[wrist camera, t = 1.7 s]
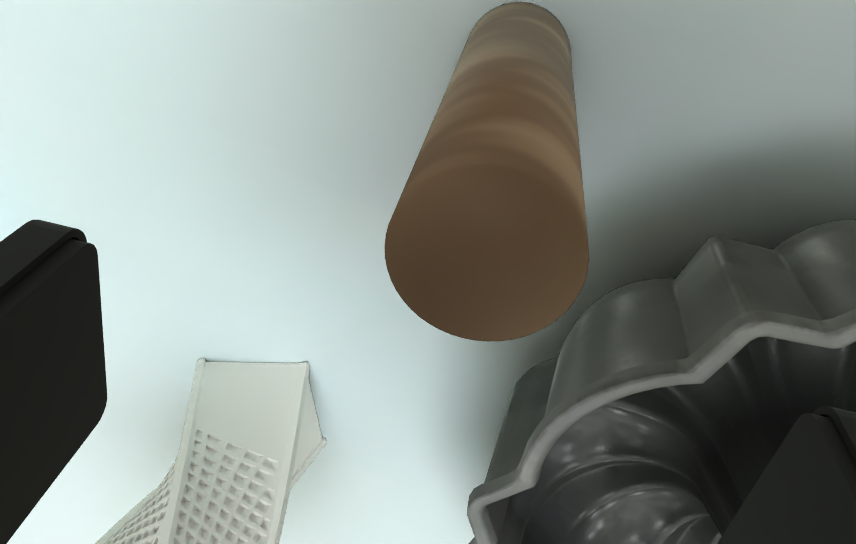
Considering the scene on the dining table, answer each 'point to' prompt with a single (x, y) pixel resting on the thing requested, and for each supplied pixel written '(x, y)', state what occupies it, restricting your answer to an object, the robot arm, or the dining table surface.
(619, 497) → the bundt pan
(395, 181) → the dining table surface
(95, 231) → the dining table surface
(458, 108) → the brown wooden dowel
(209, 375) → the skyscraper
